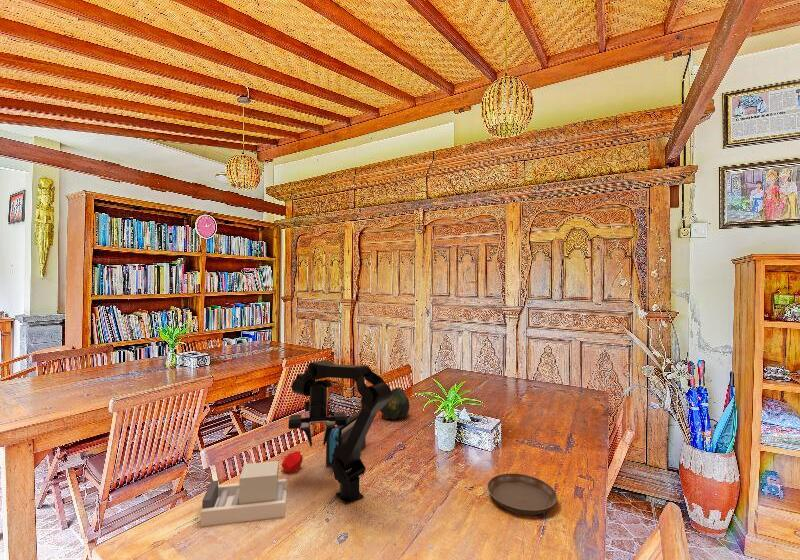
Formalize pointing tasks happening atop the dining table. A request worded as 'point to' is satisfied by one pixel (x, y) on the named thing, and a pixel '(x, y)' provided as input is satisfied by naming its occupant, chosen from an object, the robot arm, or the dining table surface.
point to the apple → (292, 462)
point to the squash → (396, 405)
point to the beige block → (258, 482)
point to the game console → (340, 438)
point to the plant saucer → (522, 493)
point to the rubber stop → (210, 495)
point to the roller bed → (243, 506)
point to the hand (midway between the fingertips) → (317, 445)
